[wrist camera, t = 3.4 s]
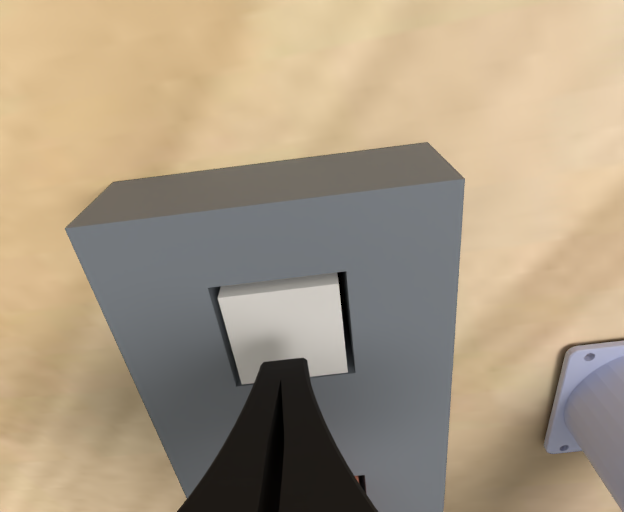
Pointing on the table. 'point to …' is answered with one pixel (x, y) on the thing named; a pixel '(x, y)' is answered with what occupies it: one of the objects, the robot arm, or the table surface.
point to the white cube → (285, 323)
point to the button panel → (280, 265)
